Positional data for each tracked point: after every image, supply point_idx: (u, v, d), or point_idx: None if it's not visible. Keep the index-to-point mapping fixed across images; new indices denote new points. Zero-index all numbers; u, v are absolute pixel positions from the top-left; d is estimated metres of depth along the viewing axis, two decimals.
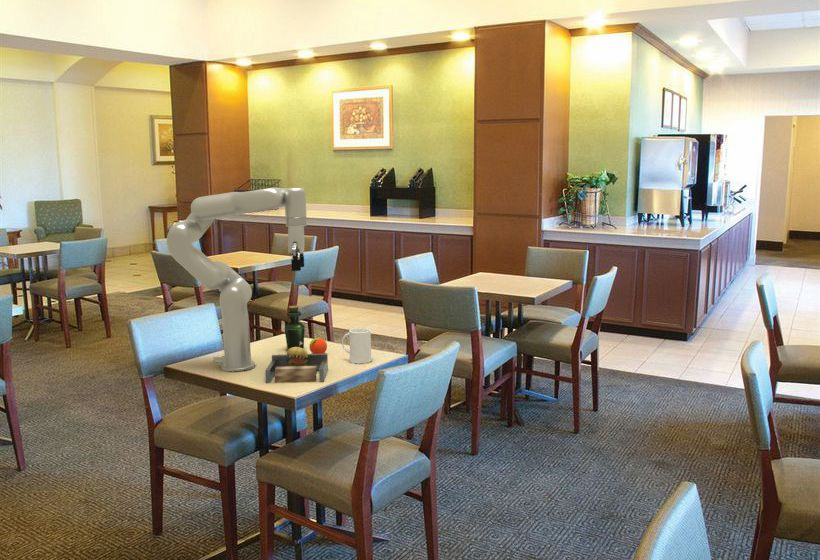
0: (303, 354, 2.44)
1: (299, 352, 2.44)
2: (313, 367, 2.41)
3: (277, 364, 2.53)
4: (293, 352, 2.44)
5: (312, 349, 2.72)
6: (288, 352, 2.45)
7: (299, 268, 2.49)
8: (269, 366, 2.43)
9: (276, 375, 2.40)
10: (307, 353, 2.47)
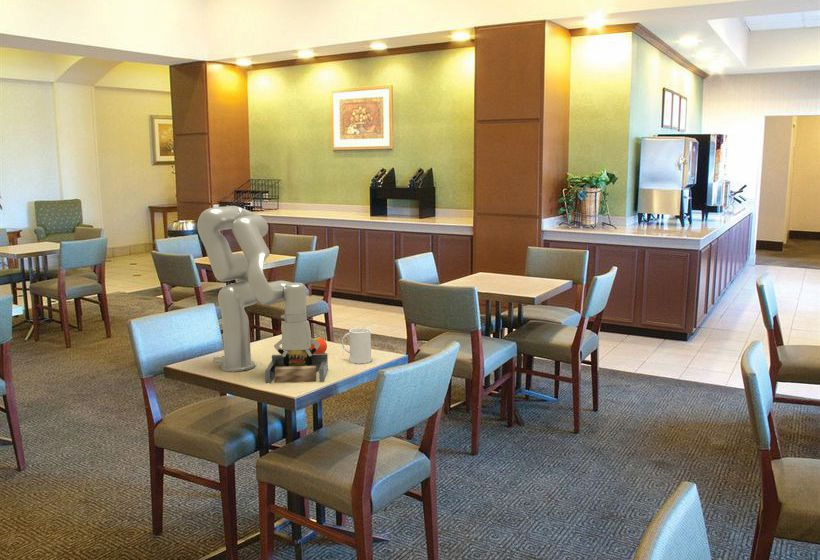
0: (303, 354, 2.44)
1: (299, 352, 2.44)
2: (313, 367, 2.41)
3: (277, 364, 2.53)
4: (293, 352, 2.44)
5: None
6: (288, 352, 2.45)
7: None
8: (269, 366, 2.43)
9: (276, 375, 2.40)
10: None
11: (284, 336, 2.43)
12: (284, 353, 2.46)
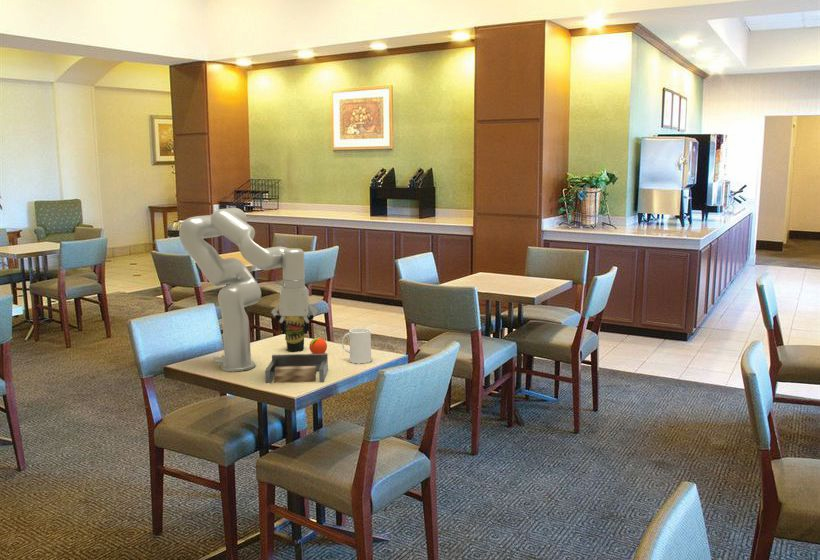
0: (300, 321, 2.43)
1: (296, 318, 2.42)
2: (313, 367, 2.41)
3: (277, 364, 2.53)
4: (290, 318, 2.42)
5: (312, 349, 2.72)
6: (285, 318, 2.43)
7: None
8: (269, 366, 2.43)
9: (276, 375, 2.40)
10: (304, 320, 2.45)
11: (282, 302, 2.41)
12: (281, 319, 2.44)
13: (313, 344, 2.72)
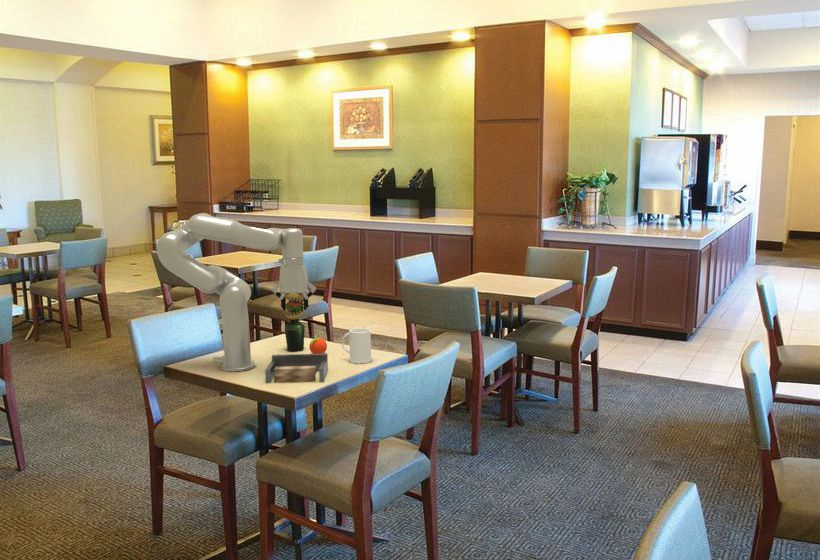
0: (300, 297, 2.54)
1: (296, 295, 2.54)
2: (312, 367, 2.41)
3: (277, 364, 2.53)
4: (290, 295, 2.53)
5: (312, 349, 2.72)
6: (285, 295, 2.55)
7: (306, 306, 2.59)
8: (269, 366, 2.43)
9: (275, 375, 2.40)
10: None
11: (282, 279, 2.53)
12: (281, 296, 2.55)
13: (313, 344, 2.72)
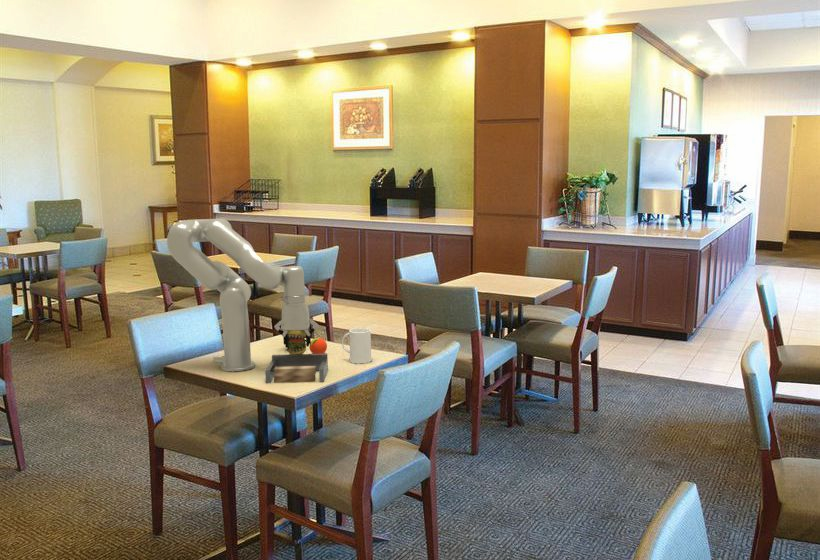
0: (302, 334, 2.57)
1: (298, 332, 2.56)
2: (312, 367, 2.41)
3: (277, 364, 2.53)
4: (292, 332, 2.56)
5: (312, 349, 2.72)
6: (288, 332, 2.57)
7: None
8: (269, 366, 2.43)
9: (275, 375, 2.40)
10: None
11: (284, 317, 2.55)
12: (284, 333, 2.58)
13: (313, 344, 2.72)
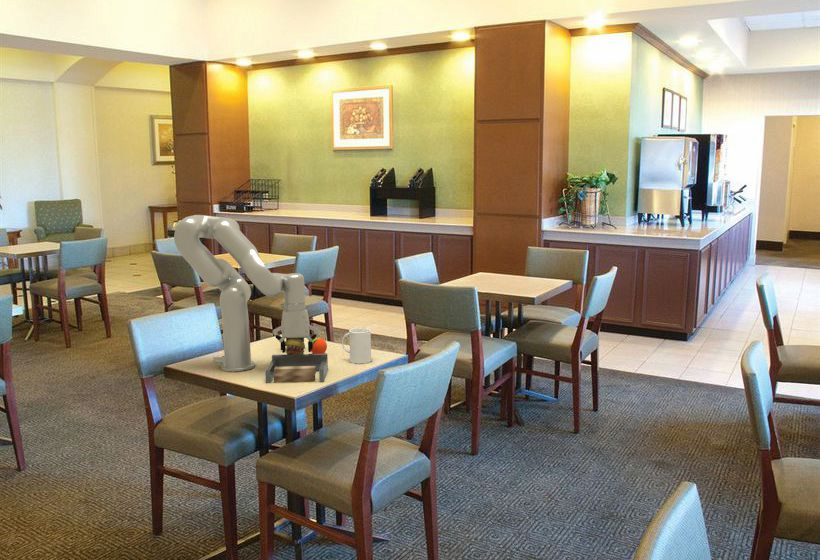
0: (300, 345, 2.57)
1: (296, 343, 2.57)
2: (312, 367, 2.41)
3: (277, 364, 2.53)
4: (291, 343, 2.56)
5: (312, 349, 2.72)
6: (286, 343, 2.58)
7: None
8: (269, 366, 2.43)
9: (275, 375, 2.40)
10: (304, 344, 2.59)
11: (284, 324, 2.56)
12: (281, 339, 2.58)
13: (313, 344, 2.72)
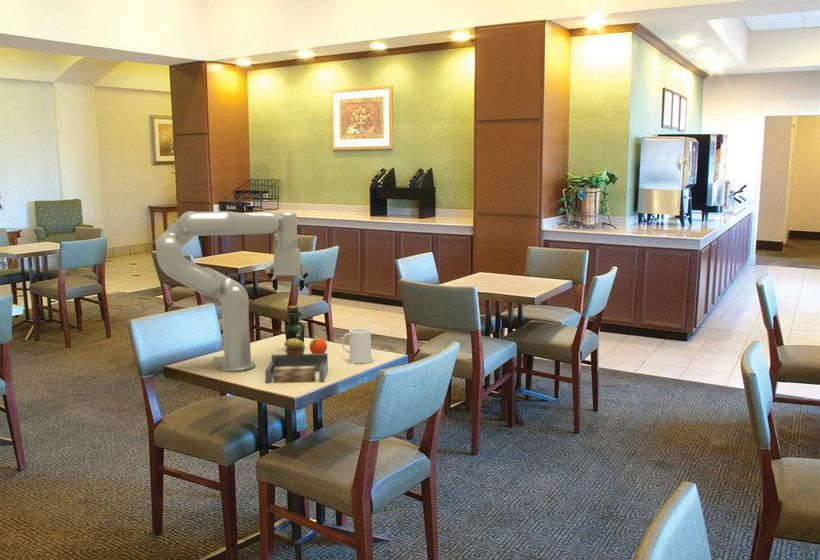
0: (300, 345, 2.57)
1: (296, 343, 2.56)
2: (312, 367, 2.41)
3: (277, 364, 2.53)
4: (290, 343, 2.56)
5: (312, 349, 2.72)
6: (286, 343, 2.58)
7: (302, 287, 2.63)
8: (269, 366, 2.43)
9: (275, 375, 2.40)
10: (304, 344, 2.59)
11: (276, 261, 2.58)
12: (273, 276, 2.61)
13: (313, 344, 2.72)
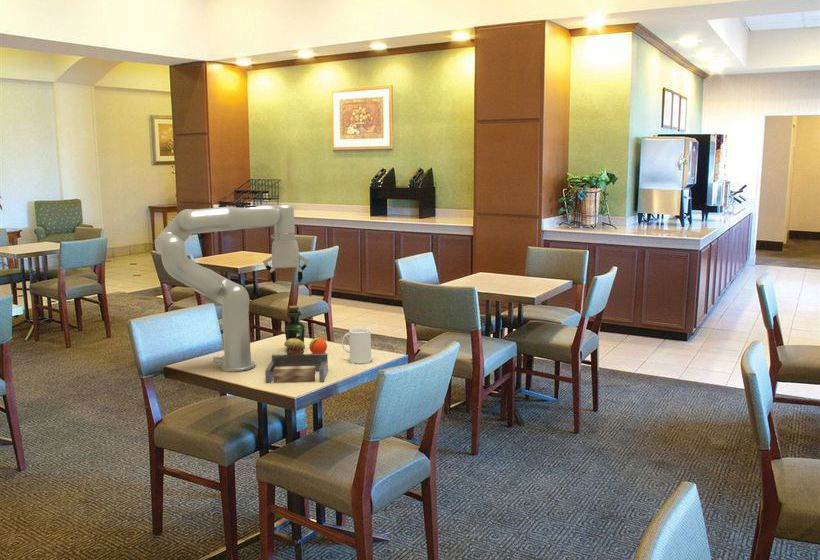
0: (300, 345, 2.57)
1: (296, 343, 2.56)
2: (312, 367, 2.41)
3: (277, 364, 2.53)
4: (290, 343, 2.56)
5: (312, 349, 2.72)
6: (286, 343, 2.58)
7: None
8: (269, 366, 2.43)
9: (275, 375, 2.40)
10: (304, 345, 2.59)
11: (274, 254, 2.61)
12: (271, 269, 2.63)
13: (313, 344, 2.72)
